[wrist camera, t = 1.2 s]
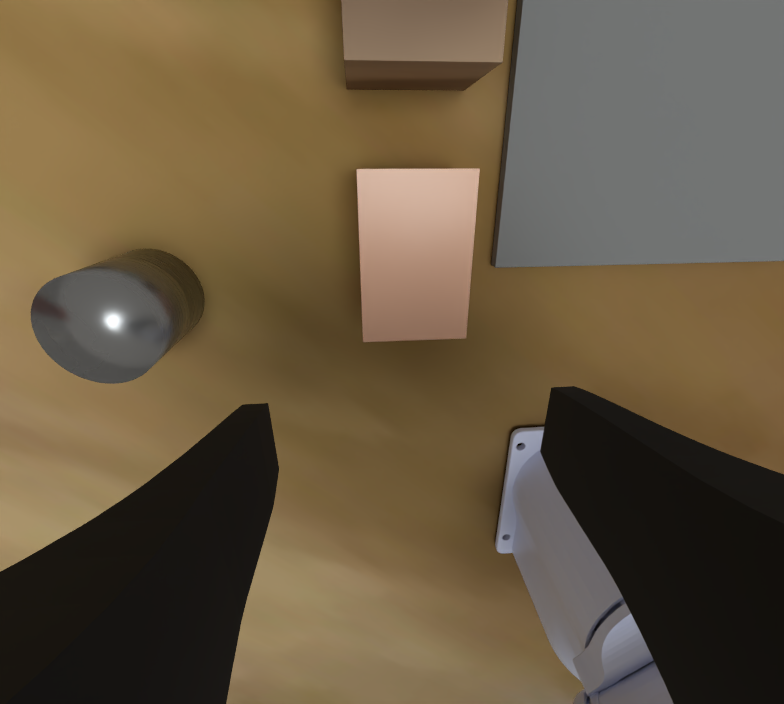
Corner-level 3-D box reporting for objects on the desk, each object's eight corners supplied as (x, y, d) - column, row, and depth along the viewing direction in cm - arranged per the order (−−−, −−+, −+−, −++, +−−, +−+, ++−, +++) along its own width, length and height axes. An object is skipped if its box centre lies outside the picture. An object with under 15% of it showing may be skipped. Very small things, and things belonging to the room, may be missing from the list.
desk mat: (811, 257, 19) (824, 259, 19) (491, 264, 18) (495, 267, 18) (1026, -244, 13) (1056, -262, 12) (545, -284, 12) (554, -306, 11)
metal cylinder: (212, 334, 19) (172, 381, 15) (122, 337, 18) (55, 385, 14) (194, 247, 17) (143, 272, 13) (95, 249, 17) (11, 275, 13)
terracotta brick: (445, 306, 19) (466, 338, 15) (361, 308, 19) (362, 342, 15) (452, 168, 17) (479, 168, 13) (356, 169, 16) (356, 168, 13)
